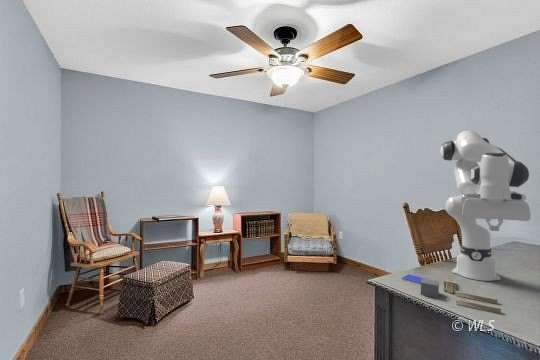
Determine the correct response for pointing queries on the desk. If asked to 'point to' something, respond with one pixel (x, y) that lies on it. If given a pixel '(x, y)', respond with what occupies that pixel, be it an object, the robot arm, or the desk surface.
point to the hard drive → (413, 279)
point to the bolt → (450, 285)
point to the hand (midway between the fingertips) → (494, 230)
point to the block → (430, 287)
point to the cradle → (474, 296)
